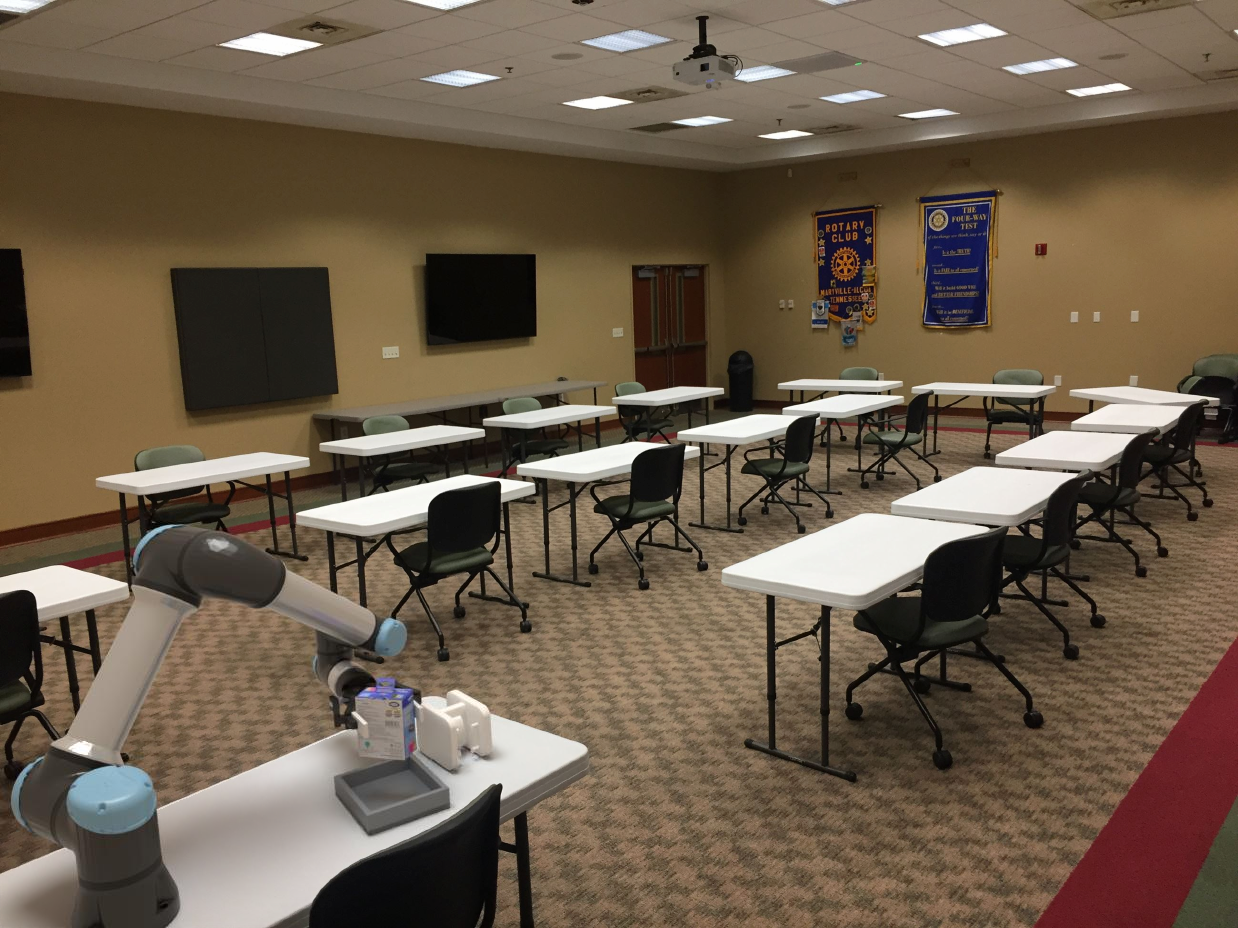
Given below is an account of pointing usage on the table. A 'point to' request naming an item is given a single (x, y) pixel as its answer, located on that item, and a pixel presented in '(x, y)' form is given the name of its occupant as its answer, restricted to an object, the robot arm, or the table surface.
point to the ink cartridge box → (387, 721)
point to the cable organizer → (454, 729)
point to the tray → (391, 793)
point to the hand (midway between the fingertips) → (394, 722)
